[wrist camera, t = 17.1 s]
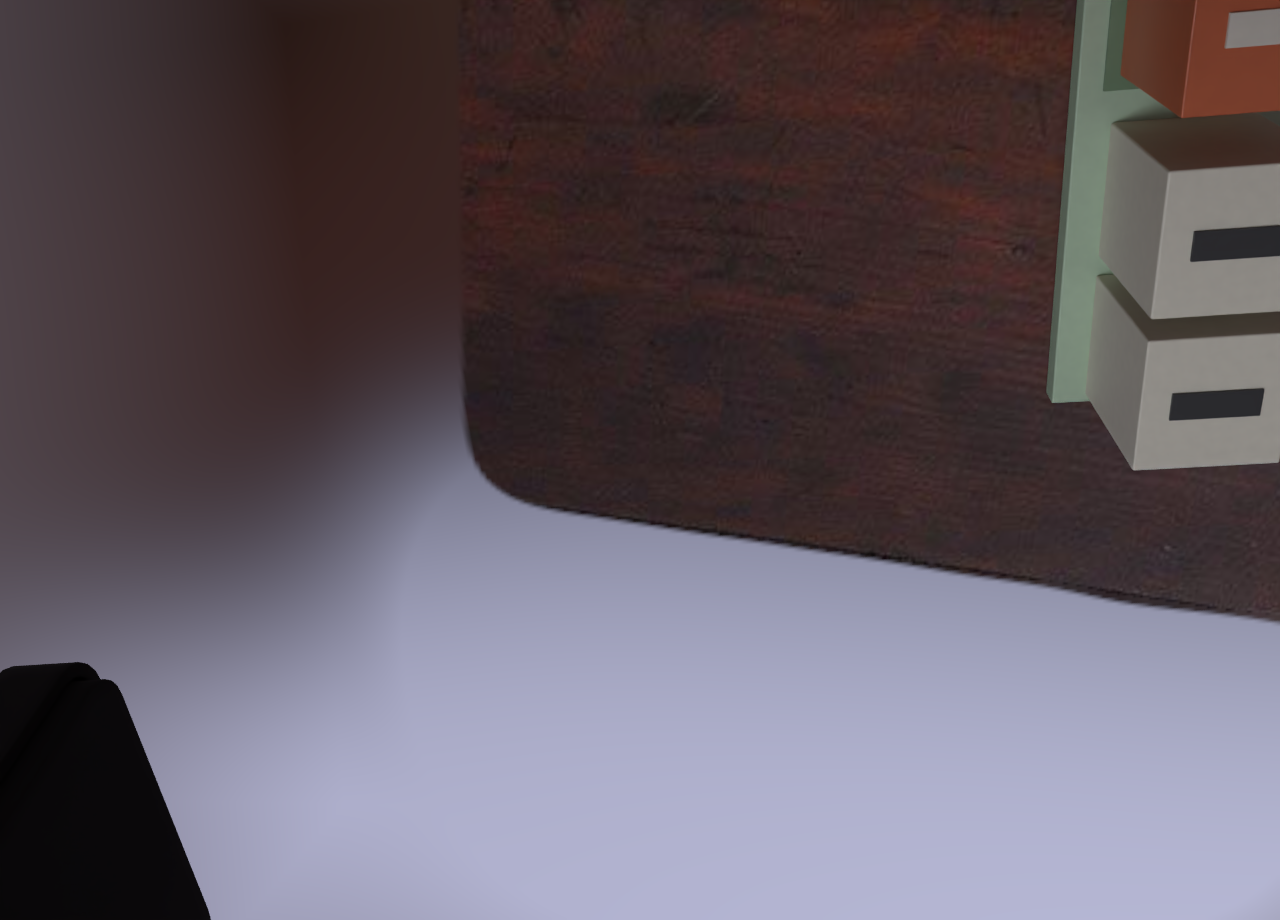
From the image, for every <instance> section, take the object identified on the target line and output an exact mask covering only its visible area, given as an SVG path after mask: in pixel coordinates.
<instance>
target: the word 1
mask: <svg viewBox="0 0 1280 920" xmlns="http://www.w3.org/2000/svg"><path fill="white" fill-rule="evenodd" d="M1127 1H1128V0H1077V8H1076V21H1075V34H1074V46H1073V59H1072V72H1071V85H1070V97H1069V110H1068V123H1067V136H1066V148H1065V161H1064V174H1063V187H1062V199H1061V212H1060V225H1059V238H1058V251H1057V263H1056V276H1055V289H1054V302H1053V314H1052V327H1051V340H1050V353H1049V365H1048V378H1047V391H1046V392H1047V394H1048V396H1049V398H1050V400H1051V402H1052V403H1062V402H1079V401H1090V402H1091V403H1092V405H1093V406H1094V408H1095V410H1096V411H1097V413H1098V415H1099V416H1100V418H1101V419H1102V421H1103V423H1104V424H1105V426H1106V428H1107V429H1108V431H1109V432H1110V434H1111V436H1112V437H1113V439H1114V440H1115V442H1116V444H1117V445H1118V447H1119V449H1120V450H1121V452H1122V453H1123V455H1124V457H1125V458H1126V460H1127V461H1128V463H1129V465H1130V466H1131V468H1132V470H1150V469H1169V468H1188V467H1206V466H1225V465H1244V464H1263V463H1278V462H1279V459H1280V111H1269V112H1256V113H1243V114H1231V115H1218V116H1205V117H1192V118H1180V117H1179V116H1177V115H1176V114H1175V113H1173V112H1172V111H1170V110H1169V109H1168V108H1166V107H1165V106H1163V105H1162V104H1161V103H1159V102H1158V101H1156V100H1155V99H1154V98H1152V97H1151V96H1149V95H1148V94H1146V93H1145V92H1144V91H1142V90H1141V89H1139V88H1138V87H1137V86H1135V85H1134V84H1132V83H1131V82H1130V81H1128V80H1127V79H1125V78H1124V77H1123V76H1121V74H1120V73H1121V63H1122V53H1123V42H1124V32H1125V22H1126V11H1127Z"/></svg>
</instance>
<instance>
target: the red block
mask: <svg viewBox="0 0 1280 920" xmlns="http://www.w3.org/2000/svg"><path fill="white" fill-rule="evenodd" d="M1120 74H1121V76H1123V77H1124V78H1125V79H1127V80H1128V81H1130V82H1131V83H1132V84H1134V85H1135V86H1137V87H1138V88H1139V89H1141V90H1142V91H1144V92H1145V93H1146V94H1148V95H1149V96H1151V97H1152V98H1154V99H1155V100H1156V101H1158V102H1159V103H1161V104H1162V105H1163V106H1165V107H1166V108H1168V109H1169V110H1170V111H1172V112H1173V113H1175V114H1176V115H1177V116H1179V117H1180V118H1192V117H1205V116H1218V115H1231V114H1243V113H1256V112H1269V111H1280V0H1128V1H1127V11H1126V22H1125V32H1124V42H1123V53H1122V63H1121V73H1120Z"/></svg>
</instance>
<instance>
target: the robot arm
mask: <svg viewBox="0 0 1280 920" xmlns="http://www.w3.org/2000/svg"><path fill="white" fill-rule="evenodd" d="M0 920H211V919H210V915H209V911H208V908H207V906H206V903H205V901H204V898H203V896H202V893H201V891H200V888H199V886H198V883H197V881H196V878H195V876H194V873H193V871H192V868H191V866H190V863H189V861H188V858H187V856H186V853H185V851H184V848H183V846H182V843H181V841H180V838H179V836H178V833H177V831H176V828H175V826H174V823H173V821H172V818H171V816H170V813H169V811H168V808H167V806H166V803H165V801H164V798H163V796H162V793H161V791H160V788H159V786H158V783H157V781H156V778H155V776H154V773H153V771H152V768H151V766H150V763H149V761H148V758H147V756H146V753H145V751H144V748H143V746H142V743H141V741H140V738H139V736H138V733H137V731H136V728H135V726H134V723H133V721H132V718H131V716H130V714H129V711H128V708H127V706H126V703H125V701H124V698H123V696H122V693H121V692H120V690H119V688H118V686H117V685H116V684H115V683H114V682H112V681H111V680H106V679H102V680H101V679H100V678H99V676H98V674H97V672H96V671H95V670H94V669H93V668H92V667H90V666H89V665H88V664H85V663H80V662H74V663H58V664H42V665H28V666H27V665H26V666H13V667H10V668H7V669H5V670H3V671H2V672H1V673H0Z"/></svg>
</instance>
